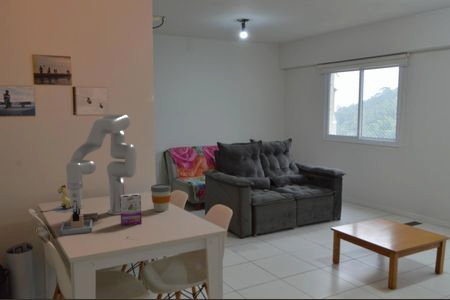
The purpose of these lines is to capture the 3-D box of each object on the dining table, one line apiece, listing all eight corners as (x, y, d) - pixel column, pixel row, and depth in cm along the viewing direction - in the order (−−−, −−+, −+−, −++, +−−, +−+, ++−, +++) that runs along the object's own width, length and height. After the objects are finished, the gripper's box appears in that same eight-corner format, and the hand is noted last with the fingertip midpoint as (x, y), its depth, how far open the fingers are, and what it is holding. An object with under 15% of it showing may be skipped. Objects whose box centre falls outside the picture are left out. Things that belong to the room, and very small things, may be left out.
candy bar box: (141, 221, 214) (140, 192, 213) (141, 223, 210) (140, 194, 208) (120, 222, 211) (119, 194, 210) (120, 225, 207) (119, 196, 205)
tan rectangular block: (83, 226, 203) (83, 214, 202) (83, 228, 200) (82, 215, 199) (71, 228, 201) (70, 215, 200) (71, 229, 198) (70, 216, 197)
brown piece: (97, 216, 225) (97, 212, 225) (97, 220, 216) (97, 216, 215) (72, 218, 221) (72, 214, 221) (71, 223, 211) (70, 218, 211)
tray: (92, 224, 210) (92, 219, 209) (91, 232, 195) (91, 227, 195) (63, 226, 205) (63, 222, 205) (60, 235, 191) (59, 230, 191)
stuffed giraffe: (63, 204, 253) (61, 181, 250) (86, 207, 248) (86, 183, 246) (46, 212, 237) (44, 187, 235) (71, 214, 233) (70, 189, 230)
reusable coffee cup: (173, 206, 245) (173, 184, 244) (168, 212, 233) (168, 188, 231) (154, 206, 247) (154, 183, 245) (148, 211, 234) (148, 187, 233)
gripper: (81, 188, 191) (83, 223, 193) (83, 182, 207) (85, 214, 209) (65, 189, 188) (67, 224, 190) (68, 183, 205) (70, 215, 207)
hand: (76, 218), depth 200 cm, fingers open, 7 cm apart
